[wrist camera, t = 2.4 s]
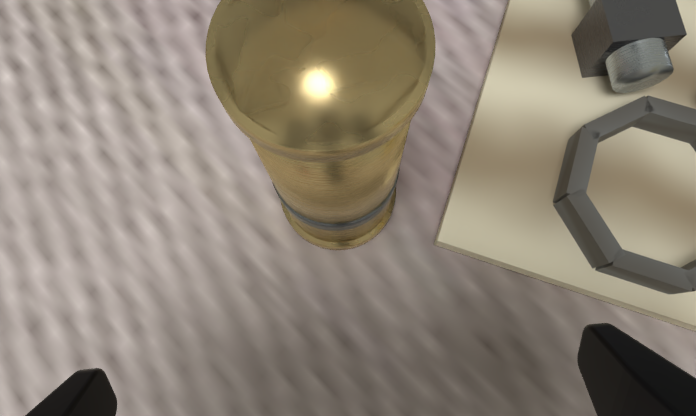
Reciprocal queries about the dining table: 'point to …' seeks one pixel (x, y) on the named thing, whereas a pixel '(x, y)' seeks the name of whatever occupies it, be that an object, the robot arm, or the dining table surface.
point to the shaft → (628, 41)
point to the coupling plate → (581, 169)
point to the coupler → (325, 102)
